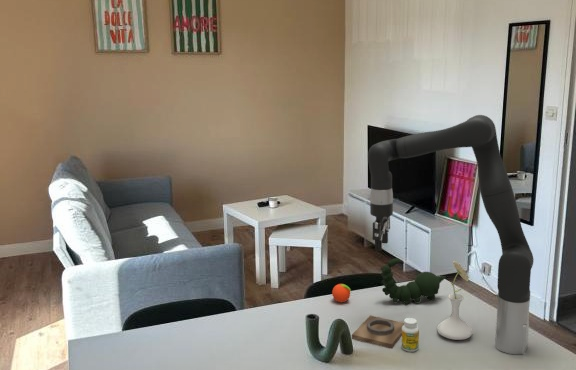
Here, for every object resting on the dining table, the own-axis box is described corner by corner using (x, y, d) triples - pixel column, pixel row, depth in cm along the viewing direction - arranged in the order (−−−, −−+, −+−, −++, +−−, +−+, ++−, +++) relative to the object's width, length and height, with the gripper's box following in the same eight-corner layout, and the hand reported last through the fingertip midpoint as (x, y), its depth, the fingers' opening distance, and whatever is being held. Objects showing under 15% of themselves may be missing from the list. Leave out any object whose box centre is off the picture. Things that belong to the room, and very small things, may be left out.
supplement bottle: (415, 343, 183) (415, 316, 181) (421, 351, 178) (421, 323, 176) (399, 344, 183) (399, 317, 180) (404, 353, 177) (405, 325, 175)
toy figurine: (388, 312, 209) (452, 301, 212) (384, 265, 205) (449, 254, 207) (380, 302, 218) (442, 291, 221) (377, 256, 214) (439, 246, 216)
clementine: (355, 300, 216) (355, 283, 215) (347, 307, 211) (347, 289, 209) (337, 296, 221) (337, 279, 219) (329, 302, 215) (328, 285, 213)
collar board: (408, 327, 194) (408, 319, 193) (391, 348, 180) (391, 339, 180) (370, 319, 201) (370, 311, 200) (351, 338, 187) (351, 330, 187)
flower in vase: (474, 344, 181) (477, 271, 176) (437, 341, 184) (440, 269, 178) (469, 325, 194) (473, 257, 188) (435, 323, 196) (438, 255, 191)
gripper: (387, 207, 182) (387, 254, 185) (397, 196, 194) (397, 241, 198) (364, 205, 185) (365, 252, 188) (376, 195, 197) (376, 239, 201)
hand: (381, 246), depth 193 cm, fingers open, 8 cm apart
